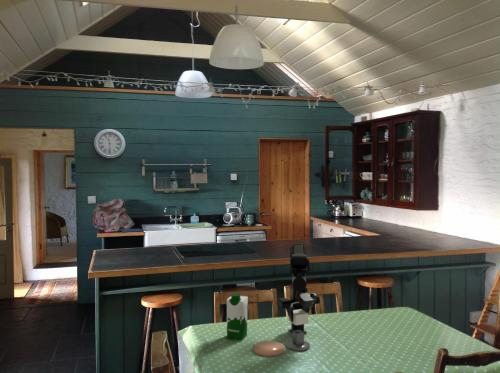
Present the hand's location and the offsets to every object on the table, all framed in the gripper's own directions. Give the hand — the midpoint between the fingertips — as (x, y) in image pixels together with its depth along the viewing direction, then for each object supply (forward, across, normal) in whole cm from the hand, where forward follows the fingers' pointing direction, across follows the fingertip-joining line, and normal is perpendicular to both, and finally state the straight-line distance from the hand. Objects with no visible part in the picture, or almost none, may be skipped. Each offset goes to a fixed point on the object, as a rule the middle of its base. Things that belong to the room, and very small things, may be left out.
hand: (298, 320), depth 186 cm
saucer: (+11, -13, +2) cm, 17 cm away
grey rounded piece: (+11, 0, 0) cm, 11 cm away
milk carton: (+12, -20, +20) cm, 31 cm away
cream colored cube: (0, 0, 0) cm, 0 cm away
